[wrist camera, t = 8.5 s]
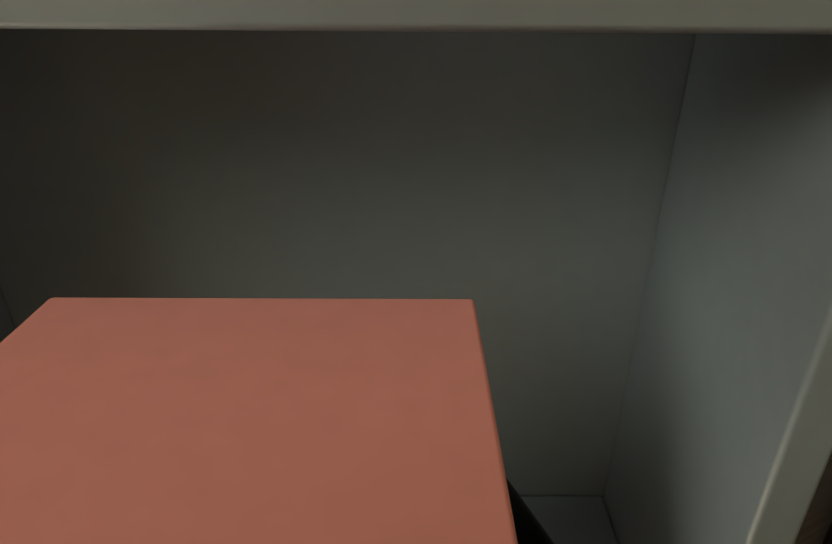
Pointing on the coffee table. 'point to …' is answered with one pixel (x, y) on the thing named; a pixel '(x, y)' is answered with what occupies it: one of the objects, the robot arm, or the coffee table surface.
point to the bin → (474, 213)
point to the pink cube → (250, 423)
